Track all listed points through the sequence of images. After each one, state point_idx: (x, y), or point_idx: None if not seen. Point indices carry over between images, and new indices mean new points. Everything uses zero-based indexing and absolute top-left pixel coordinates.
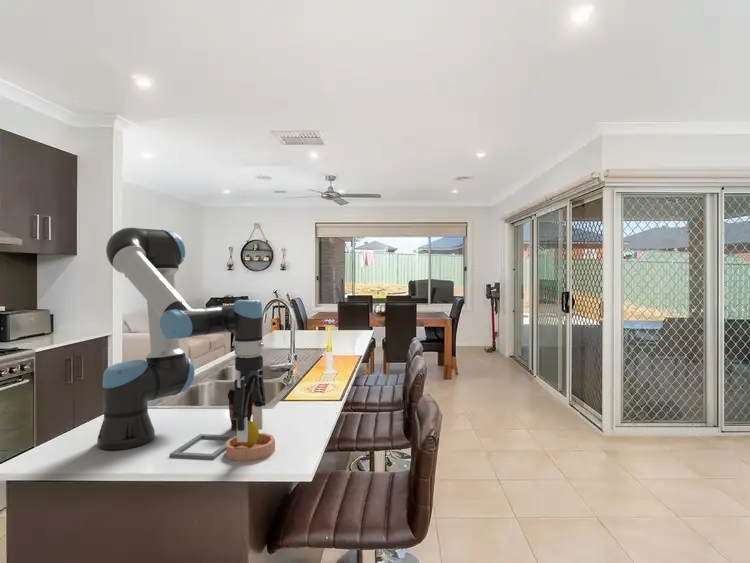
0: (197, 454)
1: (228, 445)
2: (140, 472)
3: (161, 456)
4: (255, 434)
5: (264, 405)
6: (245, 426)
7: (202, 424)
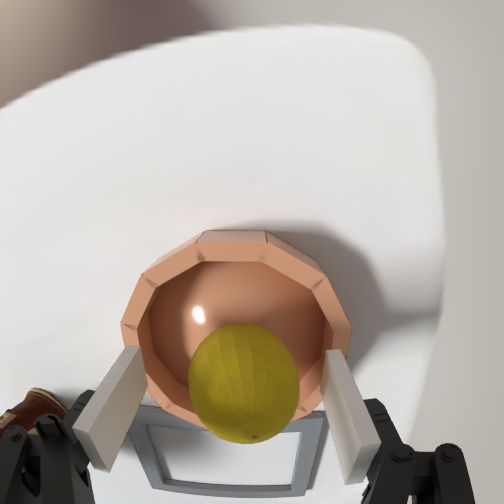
0: (308, 456)
1: (301, 411)
2: None
3: (299, 499)
4: (268, 344)
5: (58, 419)
6: (362, 407)
7: None
